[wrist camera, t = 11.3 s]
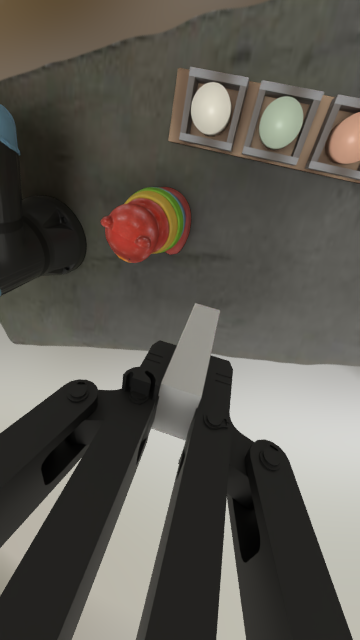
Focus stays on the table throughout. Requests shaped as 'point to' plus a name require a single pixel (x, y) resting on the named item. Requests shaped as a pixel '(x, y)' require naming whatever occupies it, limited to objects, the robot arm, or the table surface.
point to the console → (246, 118)
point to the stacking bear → (148, 224)
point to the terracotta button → (345, 141)
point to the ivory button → (211, 109)
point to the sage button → (280, 123)
